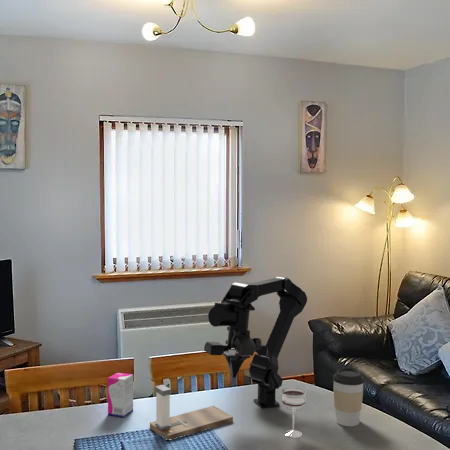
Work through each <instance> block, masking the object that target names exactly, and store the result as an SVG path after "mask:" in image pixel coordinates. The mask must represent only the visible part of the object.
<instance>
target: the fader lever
mask: <svg viewBox="0 0 450 450" xmlns="http://www.w3.org/2000/svg"><path fill="white" fill-rule="evenodd" d="M154 386H155V387H154V391H155V393H156V394H155V395H156V398H155V399H156V400H155V402H156V404H155V405H156V406H155V407H156V413H155V415H156V416H155V417H156V418H155V421H156V423H155V426H156V427H158V428H159V429H160V430H165V429H168V428H171V425H170V417H171V415H170V411H171V410H170V408H171V406H170V403H171V402H170V401H171V399H170V398H171V397H170V396H171V395H172V389H171V388H169V387H167V386H166V385H164V384H160V385H154Z"/></svg>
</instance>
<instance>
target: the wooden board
mask: <svg viewBox="0 0 450 450" xmlns="http://www.w3.org/2000/svg"><path fill="white" fill-rule="evenodd" d="M233 422H234V417H233V416H232V415H231V414H229V413H227V412H226V411H225V410H222V409H221V408H218V407H217V406H215V405H210V406H207V407H203V408H200V409H196V410H192V411H188V412H184V413H181V414H177V415H174V416H170V425H171V428H168V429H165V430H160V429H159V428H158V427H156V426H155V423H156V420H155V421H152V422H149V429H150V430H152V431H154V432H155V434H157V435H158V434H159V435H158V436H160V435H161V436H163V437H164V438H165V439H167V440H169V439H173V440H175V439H174V438H176V437H180V436H183V437H185V436H184V435H187V436H189V435H188V434H190V435H193V434H196V433H195V432H197V433H199V431H200V432H203V431H202V430H204V431H206V430H205V429H207V430H209V429H208V428H210V429H214V428H216V427H220V426H223V425H226V424H230V423H233ZM192 433H193V434H192ZM161 436H160V437H161ZM180 438H181V437H180ZM165 439H164V440H165Z"/></svg>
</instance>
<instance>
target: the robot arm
mask: <svg viewBox="0 0 450 450" xmlns="http://www.w3.org/2000/svg"><path fill="white" fill-rule="evenodd" d="M274 293H276V295H277V296H278V297H279V300H278V301H279V302H278V305H279V306H278V307H279V313H278V316H277V318H276V321H275V323H274V325H273V328H271V329H272V330H271V332H270V334H269V336H268V339H267V340H266V343H265V344H263V343H262V340H261V338H260V337H253V338H252V337H251V335H250V334H251V332H250V331H251V330H249V321H250V313H251V311H255V310H256V308H255V307H254V306H253V305H252V303H254V302H256V301H257V300H258V299H259V298H260V297H261V296H265V295H269V294H274ZM307 302H308V296H307V294H306V292H305V291H304V290H303V289H302V288H300V287H299V286H297V285H296V284H295V283H294V282H293V281H292V280H291V279H290V278H289V277H284V276H274V277H273V278H270V279H269V278H268V279H265V280H260V281H256V282H240V281H239V282H238V281H237V282H236V281H235V282H233V283H231V286H230V287H229V289H228V291H227V292H226V294H225V295H224V297H223V298H222V299H221V302H215V303H214V306H212V307H211V308H210V310H209V312H208V315H207V318H208V322H209V324H210V325H211V326H212V327H215V328H216V327H226V330H227V332H228V333H227V339H225V344H222V343H220V342H219V341H207V342H205V344H204V346H203V347H204V349H203V351H204V352H205V353H207V354H208V355H211V356H222V355H223V356H224V358H225V360H226V362H227V366H228V369H229V373H230V377H231V378H233V379H235V378H236V377H237V375H238V373H239V371H240V369H241V367H242V365H243V363H244V362H245V361H246V360H247V359H250V358H251V356H253V357H252V360H251V362H250V363H249V369H248V372H249V375H250V378H251V382H252V383H253V384H257V398H253V402H254V403H255V404H256V405H258V407H260V408H261V409H265V408H271V407H272V408H273V407H279V406H280V405H281V404H280V402H278V400H277V399H276V398H277V397H276V396H277V395H276V393H277V391H276V389H277V390H278V389H280V387H282V385H283V378H282V377H281V375H279V373H278V371H279V361H278V357H279V355H280V353H281V350H282V348H283V345H284V343H285V340H286V339H287V335H288V333H289V331H290V329H291V326H292V323H293V321H294V318H296V317H297V316H298V315H299V314H301V313H302V312H303V310H304V308H305V307H306V305H307Z"/></svg>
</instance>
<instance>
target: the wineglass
mask: <svg viewBox="0 0 450 450" xmlns="http://www.w3.org/2000/svg"><path fill="white" fill-rule="evenodd" d="M281 392H282V395H281V402H282V405H283V406H284V407H285V408H286V409H287V410H289V411H290V412H291V413H292V414H291V419H292V421H291V423H292V429H287V430H285V431H284V433H283V434H284V436H286V437H288V438H293V439H295V438H296V439H297V438H301V437H302V435H303V433H302V432H301V431H300V430H297V429H295V421H296V420H295V418H296V417H295V416H296V412H297V411H300V410H301V409H302V408H303V407H304V406H305V405H306V402H307V398H306V393H307V391H306V390H305V389H303V388H299V387H285V388H283V389H282V390H281Z"/></svg>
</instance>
